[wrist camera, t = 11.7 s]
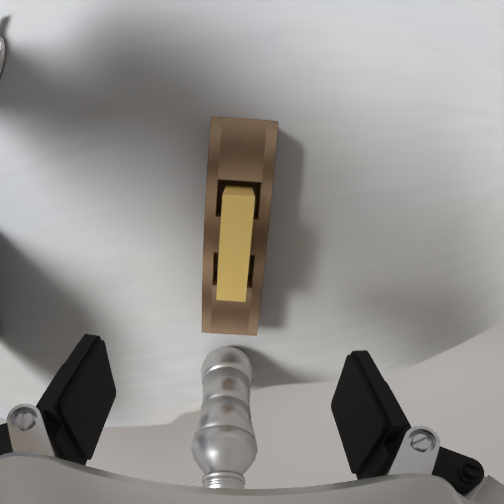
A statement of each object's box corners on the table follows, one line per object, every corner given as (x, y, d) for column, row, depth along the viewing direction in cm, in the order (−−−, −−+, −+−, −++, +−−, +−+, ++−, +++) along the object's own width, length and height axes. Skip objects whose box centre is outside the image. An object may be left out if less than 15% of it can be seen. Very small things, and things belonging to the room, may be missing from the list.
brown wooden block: (214, 120, 29) (211, 116, 25) (273, 125, 29) (278, 121, 25) (205, 313, 36) (201, 332, 32) (255, 317, 36) (256, 335, 32)
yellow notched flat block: (226, 183, 31) (222, 194, 23) (251, 185, 31) (255, 196, 23) (221, 265, 33) (216, 299, 26) (243, 267, 34) (245, 301, 26)
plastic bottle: (261, 350, 38) (276, 486, 19) (239, 383, 40) (241, 511, 21) (214, 332, 37) (200, 472, 18) (196, 369, 39) (176, 498, 20)
